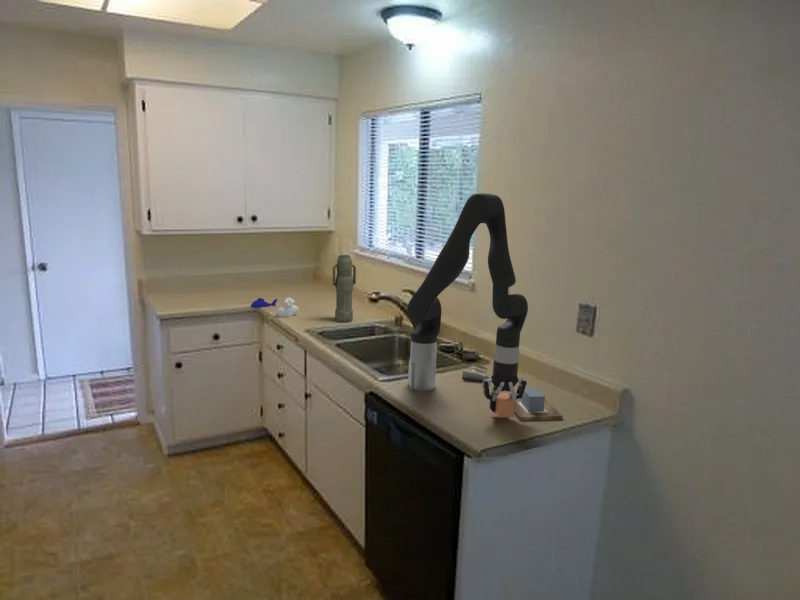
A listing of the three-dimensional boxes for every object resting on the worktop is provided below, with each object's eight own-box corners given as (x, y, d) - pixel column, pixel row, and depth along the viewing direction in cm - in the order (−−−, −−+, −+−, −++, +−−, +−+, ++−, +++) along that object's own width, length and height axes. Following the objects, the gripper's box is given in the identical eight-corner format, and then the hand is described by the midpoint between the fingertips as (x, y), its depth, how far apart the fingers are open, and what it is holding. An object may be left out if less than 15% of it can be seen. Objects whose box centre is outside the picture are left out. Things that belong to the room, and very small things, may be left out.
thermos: (358, 324, 294) (359, 256, 287) (336, 326, 288) (337, 257, 281) (350, 320, 302) (351, 254, 295) (329, 322, 296) (330, 254, 289)
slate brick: (528, 411, 183) (529, 396, 182) (521, 403, 190) (522, 388, 189) (543, 411, 184) (544, 396, 183) (535, 403, 190) (537, 388, 189)
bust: (295, 315, 310) (295, 294, 308) (301, 318, 304) (301, 297, 302) (274, 317, 303) (274, 296, 301) (280, 320, 297) (279, 299, 295)
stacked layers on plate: (486, 390, 218) (489, 378, 221) (489, 378, 211) (492, 365, 214) (460, 383, 219) (464, 371, 223) (463, 371, 212) (466, 359, 216)
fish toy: (252, 311, 315) (252, 299, 314) (249, 309, 322) (249, 297, 320) (279, 310, 321) (279, 298, 320) (276, 307, 328) (276, 295, 327)
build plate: (519, 420, 179) (520, 416, 178) (504, 402, 193) (504, 399, 193) (562, 419, 181) (562, 415, 180) (543, 401, 195) (544, 398, 195)
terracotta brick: (498, 417, 175) (499, 402, 174) (490, 408, 182) (491, 393, 181) (513, 416, 176) (515, 401, 175) (505, 407, 183) (506, 393, 182)
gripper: (487, 362, 171) (483, 416, 174) (533, 362, 173) (528, 415, 176) (480, 355, 178) (476, 406, 181) (524, 355, 180) (519, 406, 184)
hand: (502, 410), depth 179 cm, fingers closed on terracotta brick, 5 cm apart
